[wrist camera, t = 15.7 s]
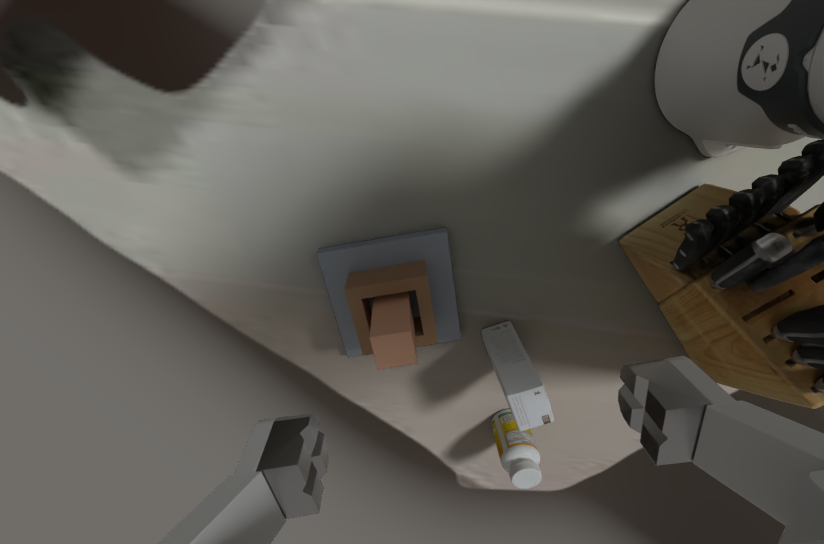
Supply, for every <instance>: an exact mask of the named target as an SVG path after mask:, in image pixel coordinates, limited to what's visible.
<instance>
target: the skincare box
mask: <svg viewBox="0 0 824 544" xmlns="http://www.w3.org/2000/svg"><path fill="white" fill-rule="evenodd" d="M481 333H482V337H483V340H484V344H485V346H486V349H487V352H488V354H489V357H490V360H491V362H492V365H493V367H494V370H495V372H496V375H497V377H498V380H499V382H500V385H501V387H502V390H503V392H504V395H505V397H506V400H507V402H508V405H509V407H510V409H511V412H512V414H513V416H514V419H515V421H516V424H517V426H518V429H519V431H520V432H521V431H525V430H528V429H531V428H534V427H537V426H541V425H544V424H547V423H550V422H553V421H554V417H553V414H552V411H551V405H550V401H549V400H548V397H547V393H546V390H545V387H544V384H543V382H542V380H541V378H540V376H539V374H538V372H537V370H536V368H535V367H534V365H533V363H532V361H531V359H530V357H529V355H528V353H527V352H526V350H525V348H524V346H523V344H522V342H521V340H520V338H519V336H518V334H517V332H516V330H515V329H514V327H513V325H512V323H511V321H507V322H503V323H500V324H497V325H493V326H490V327H487V328H485V329H482V331H481Z"/></svg>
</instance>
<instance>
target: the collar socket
mask: <svg viewBox="0 0 824 544" xmlns="http://www.w3.org/2000/svg"><path fill="white" fill-rule="evenodd" d="M317 257H318V261H319V264H320V267H321V271H322V274H323V277H324V280H325V284H326V287H327V290H328V294H329V297H330V300H331V304H332V307H333V310H334V314H335V317H336V320H337V324H338V327H339V330H340V334H341V337H342V340H343V344H344V347H345V350H346V354H347V357H348V358H349V357H355V356H361V355H369V354H374V353H373V349H372V345H371V341H370V328H371V319H372V309H373V299H374V297H376V296H383V295H389V294H395V293H401V292H407V291H409V292H410V297H411V302H412V308H413V316H414V329H415V341H416V347H420V346H426V345H432V344H438V343H444V342H450V341H457V340H461V334H460V326H459V318H458V311H457V303H456V295H455V288H454V280H453V272H452V265H451V257H450V249H449V242H448V234H447V230H446V227H445V228H439V229H433V230H427V231H421V232H415V233H409V234H403V235H398V236H392V237H386V238H380V239H374V240H368V241H362V242H356V243H350V244H344V245H338V246H332V247H326V248H320V249H319V250H318V252H317Z"/></svg>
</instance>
